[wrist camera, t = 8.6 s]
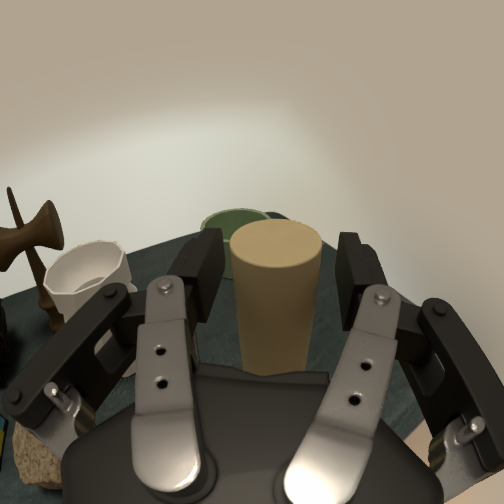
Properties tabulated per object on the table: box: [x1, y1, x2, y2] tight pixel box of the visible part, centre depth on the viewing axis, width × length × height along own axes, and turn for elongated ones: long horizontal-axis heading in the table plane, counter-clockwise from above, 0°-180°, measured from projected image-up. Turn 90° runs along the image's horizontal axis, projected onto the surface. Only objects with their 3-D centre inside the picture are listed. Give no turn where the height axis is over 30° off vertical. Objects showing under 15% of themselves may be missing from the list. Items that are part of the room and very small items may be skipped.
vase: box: [43, 240, 137, 377], centre depth 26 cm, size 9×9×12 cm
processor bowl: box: [200, 208, 271, 279], centre depth 42 cm, size 10×10×6 cm
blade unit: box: [229, 219, 322, 376], centre depth 15 cm, size 5×5×20 cm
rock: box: [12, 421, 62, 489], centre depth 15 cm, size 10×8×8 cm
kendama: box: [0, 187, 65, 333], centre depth 27 cm, size 6×10×20 cm, turn 123°
